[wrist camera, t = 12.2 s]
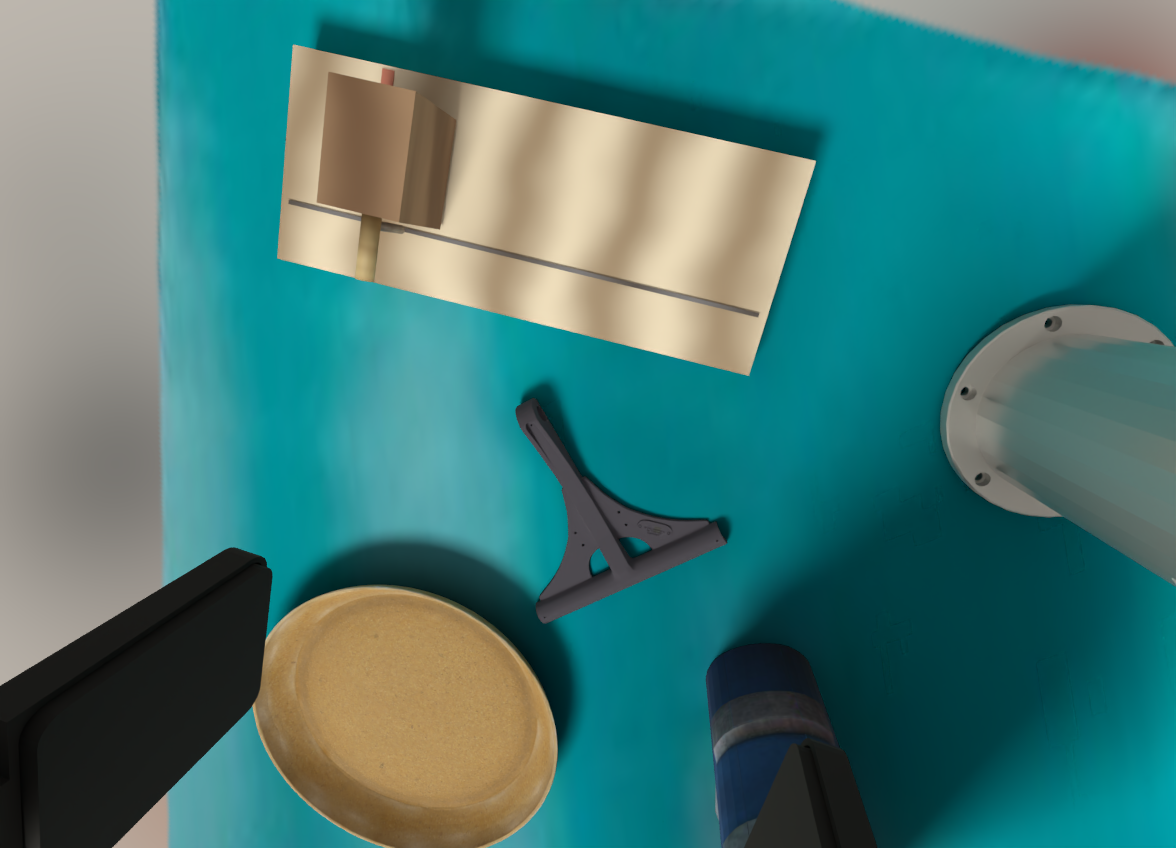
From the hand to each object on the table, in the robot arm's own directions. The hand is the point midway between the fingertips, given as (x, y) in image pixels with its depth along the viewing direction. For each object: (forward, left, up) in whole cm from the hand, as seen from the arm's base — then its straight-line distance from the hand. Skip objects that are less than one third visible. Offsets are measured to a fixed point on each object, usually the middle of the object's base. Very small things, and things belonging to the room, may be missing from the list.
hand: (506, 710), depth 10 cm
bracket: (+1, +8, -30) cm, 31 cm away
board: (+8, -9, -29) cm, 31 cm away
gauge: (+15, -8, -27) cm, 32 cm away
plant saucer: (+10, +29, -29) cm, 43 cm away
